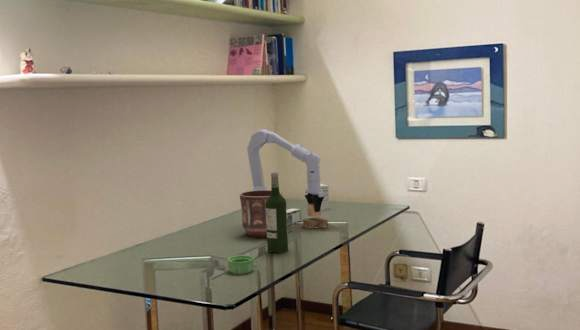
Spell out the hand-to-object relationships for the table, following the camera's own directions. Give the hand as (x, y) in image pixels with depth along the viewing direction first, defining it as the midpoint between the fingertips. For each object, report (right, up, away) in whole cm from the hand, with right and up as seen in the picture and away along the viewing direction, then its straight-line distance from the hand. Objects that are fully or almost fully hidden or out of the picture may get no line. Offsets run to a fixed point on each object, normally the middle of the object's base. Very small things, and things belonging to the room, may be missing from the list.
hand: (314, 210), depth 274 cm
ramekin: (-28, -16, -64) cm, 72 cm away
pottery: (-23, -10, -11) cm, 27 cm away
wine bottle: (-16, -12, -40) cm, 44 cm away
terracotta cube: (0, -2, 0) cm, 2 cm away
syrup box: (-8, -3, +15) cm, 17 cm away
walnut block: (0, -7, +1) cm, 7 cm away
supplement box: (+4, -2, +42) cm, 42 cm away
